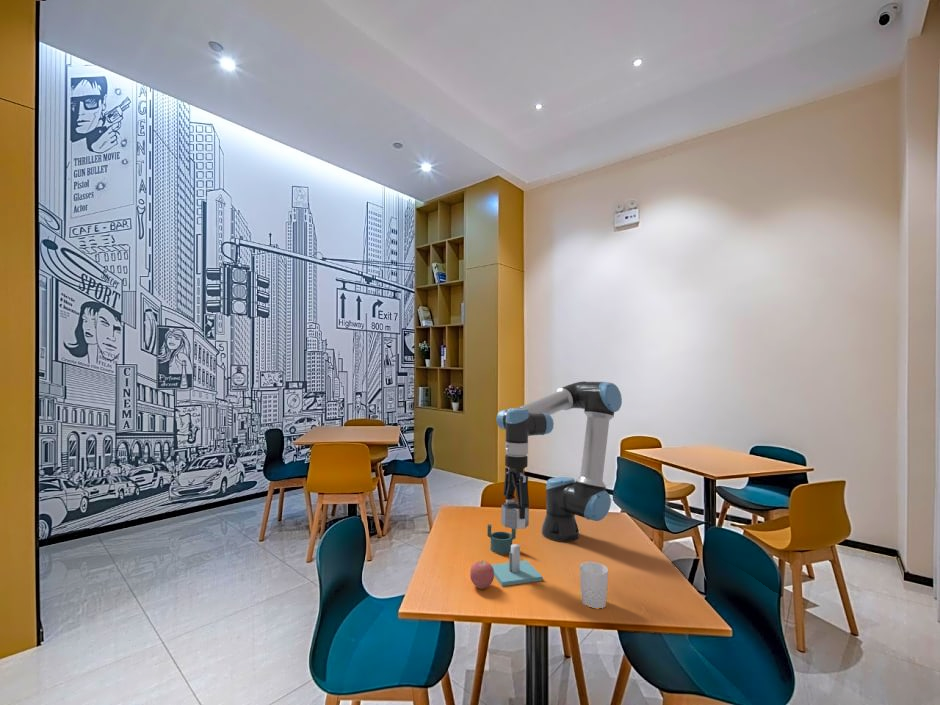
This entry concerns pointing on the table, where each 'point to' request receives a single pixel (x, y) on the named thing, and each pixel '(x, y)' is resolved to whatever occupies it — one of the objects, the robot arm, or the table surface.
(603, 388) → the robot arm
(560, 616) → the table surface
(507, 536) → the bracket
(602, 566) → the white cup
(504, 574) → the stand
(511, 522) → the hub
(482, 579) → the apple
